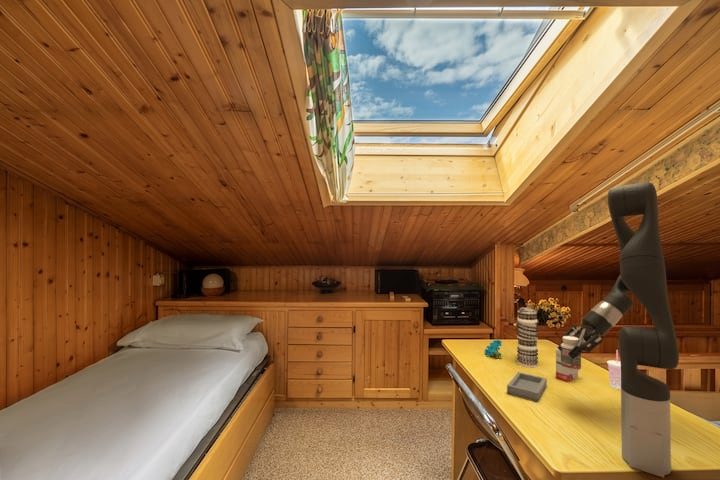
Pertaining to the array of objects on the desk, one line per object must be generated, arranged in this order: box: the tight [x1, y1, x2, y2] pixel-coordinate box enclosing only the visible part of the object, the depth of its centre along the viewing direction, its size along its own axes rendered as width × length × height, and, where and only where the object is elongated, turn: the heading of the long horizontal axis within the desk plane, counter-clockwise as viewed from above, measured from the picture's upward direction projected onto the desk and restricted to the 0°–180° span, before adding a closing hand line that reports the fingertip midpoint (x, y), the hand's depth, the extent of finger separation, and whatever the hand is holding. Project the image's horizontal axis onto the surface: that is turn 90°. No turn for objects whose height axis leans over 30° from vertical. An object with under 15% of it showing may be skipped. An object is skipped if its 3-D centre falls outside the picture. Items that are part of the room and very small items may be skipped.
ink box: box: [555, 347, 579, 383], centre depth 132 cm, size 8×5×12 cm, turn 123°
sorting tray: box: [506, 371, 548, 403], centre depth 121 cm, size 16×10×3 cm, turn 141°
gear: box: [484, 338, 503, 360], centre depth 158 cm, size 11×6×10 cm
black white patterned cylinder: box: [515, 306, 540, 368], centre depth 148 cm, size 9×9×25 cm
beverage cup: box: [606, 349, 621, 391], centre depth 123 cm, size 6×6×14 cm
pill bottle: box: [560, 335, 582, 371], centre depth 109 cm, size 6×6×10 cm
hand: (565, 353), depth 109 cm, fingers closed on pill bottle, 5 cm apart
